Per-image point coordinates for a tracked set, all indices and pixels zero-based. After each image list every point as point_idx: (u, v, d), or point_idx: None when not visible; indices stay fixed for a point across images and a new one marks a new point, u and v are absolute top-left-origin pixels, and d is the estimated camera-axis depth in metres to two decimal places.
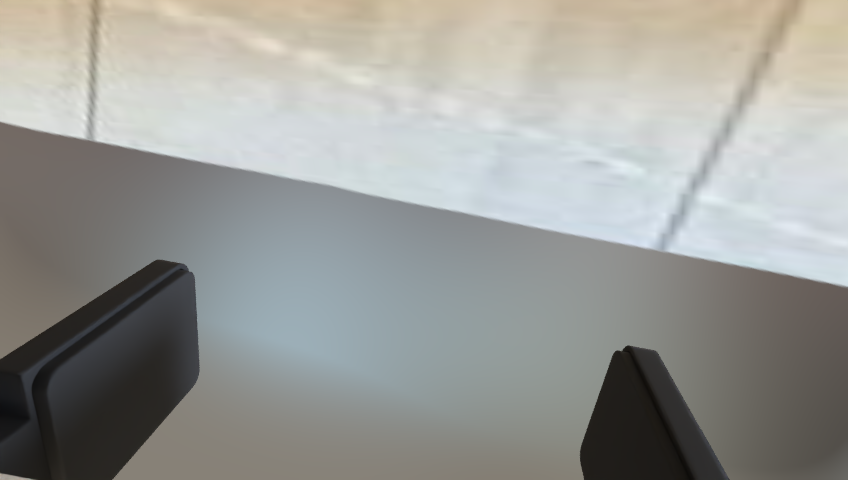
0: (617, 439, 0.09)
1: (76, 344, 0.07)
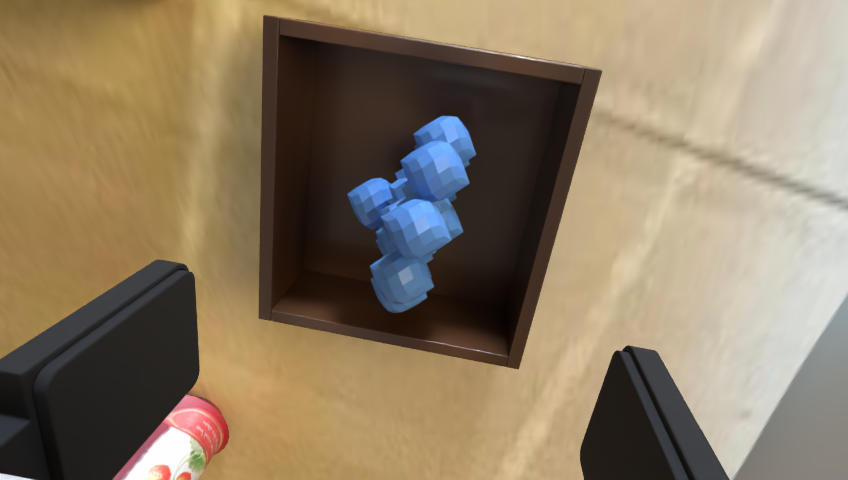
0: (617, 439, 0.09)
1: (76, 344, 0.07)
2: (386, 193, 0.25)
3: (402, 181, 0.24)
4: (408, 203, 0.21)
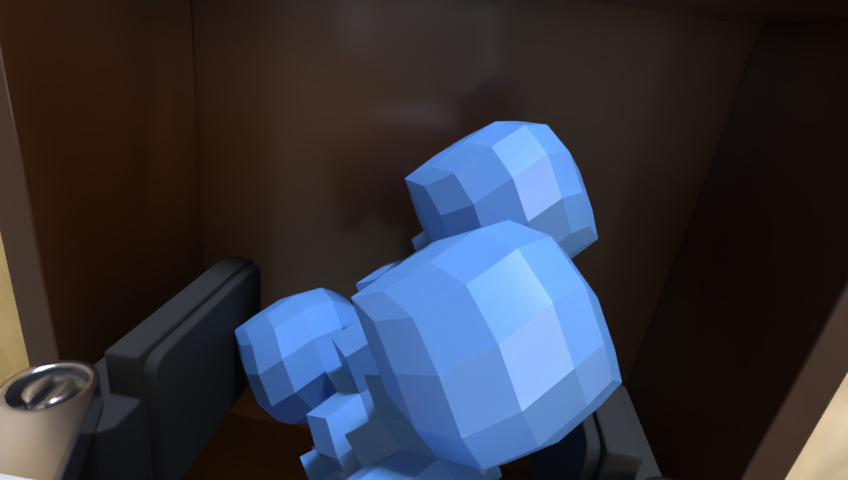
0: None
1: (175, 331, 0.08)
2: (329, 345, 0.09)
3: None
4: None
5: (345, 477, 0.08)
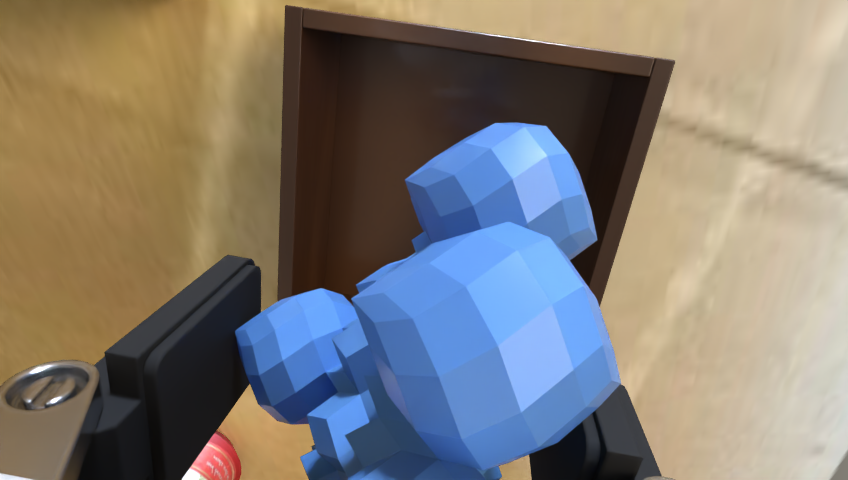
0: None
1: (175, 331, 0.08)
2: (329, 345, 0.09)
3: None
4: None
5: (345, 477, 0.08)
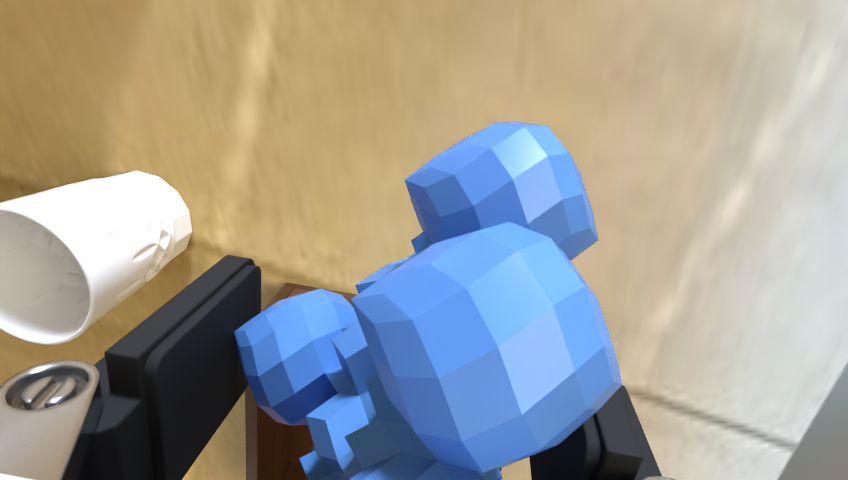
0: None
1: (175, 331, 0.08)
2: (329, 346, 0.09)
3: None
4: None
5: (345, 479, 0.08)
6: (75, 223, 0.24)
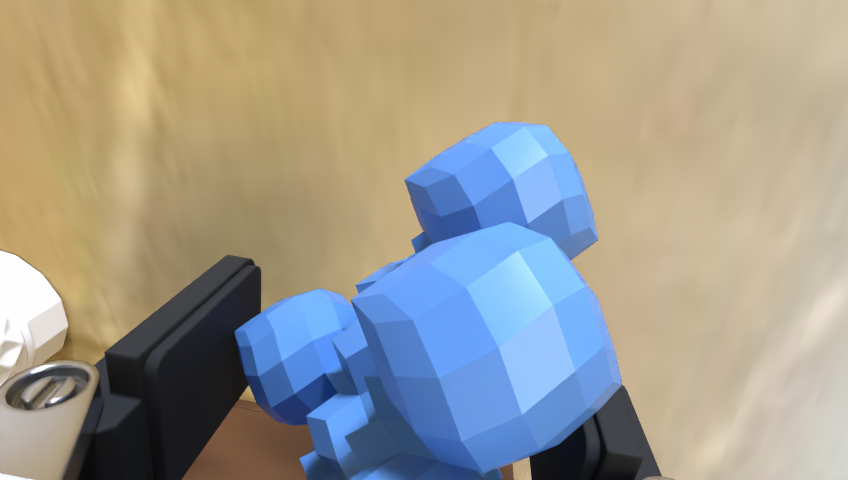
0: None
1: (175, 331, 0.08)
2: (329, 346, 0.09)
3: None
4: None
5: (345, 479, 0.08)
6: None
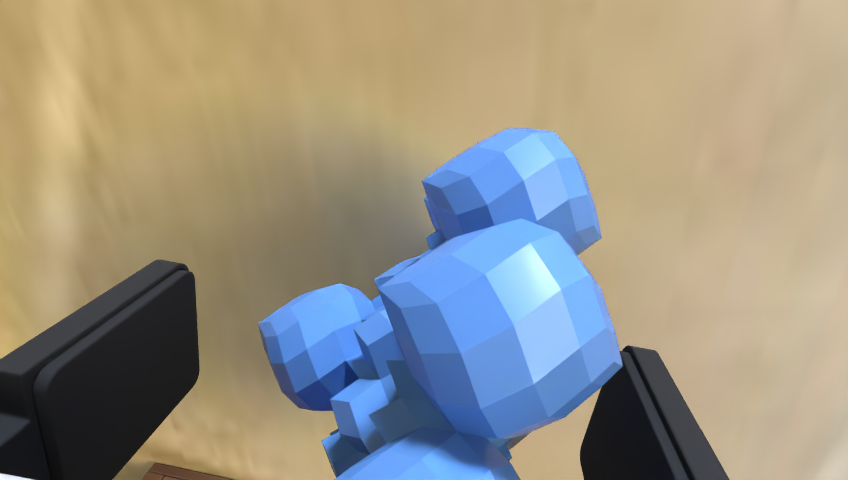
0: (617, 439, 0.09)
1: (76, 344, 0.07)
2: (349, 336, 0.09)
3: (390, 324, 0.08)
4: None
5: (366, 457, 0.08)
6: None
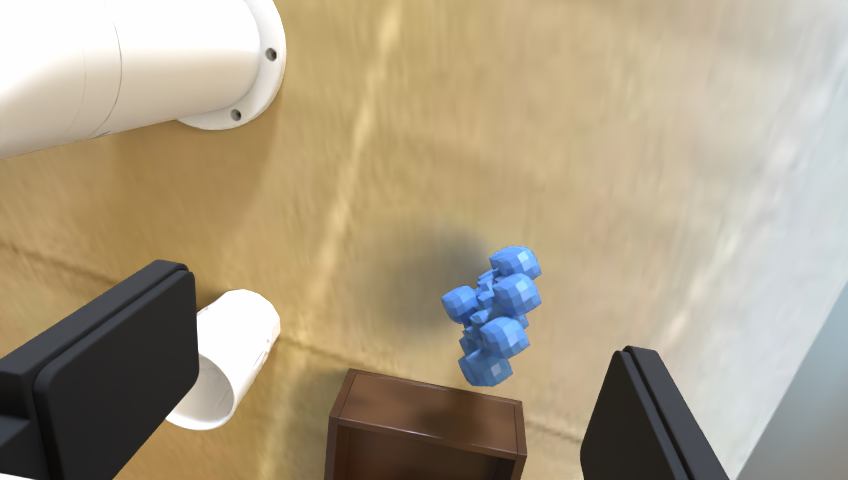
0: (617, 439, 0.09)
1: (76, 344, 0.07)
2: (473, 300, 0.34)
3: (488, 295, 0.33)
4: (500, 321, 0.30)
5: None
6: (224, 351, 0.36)
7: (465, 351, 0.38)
